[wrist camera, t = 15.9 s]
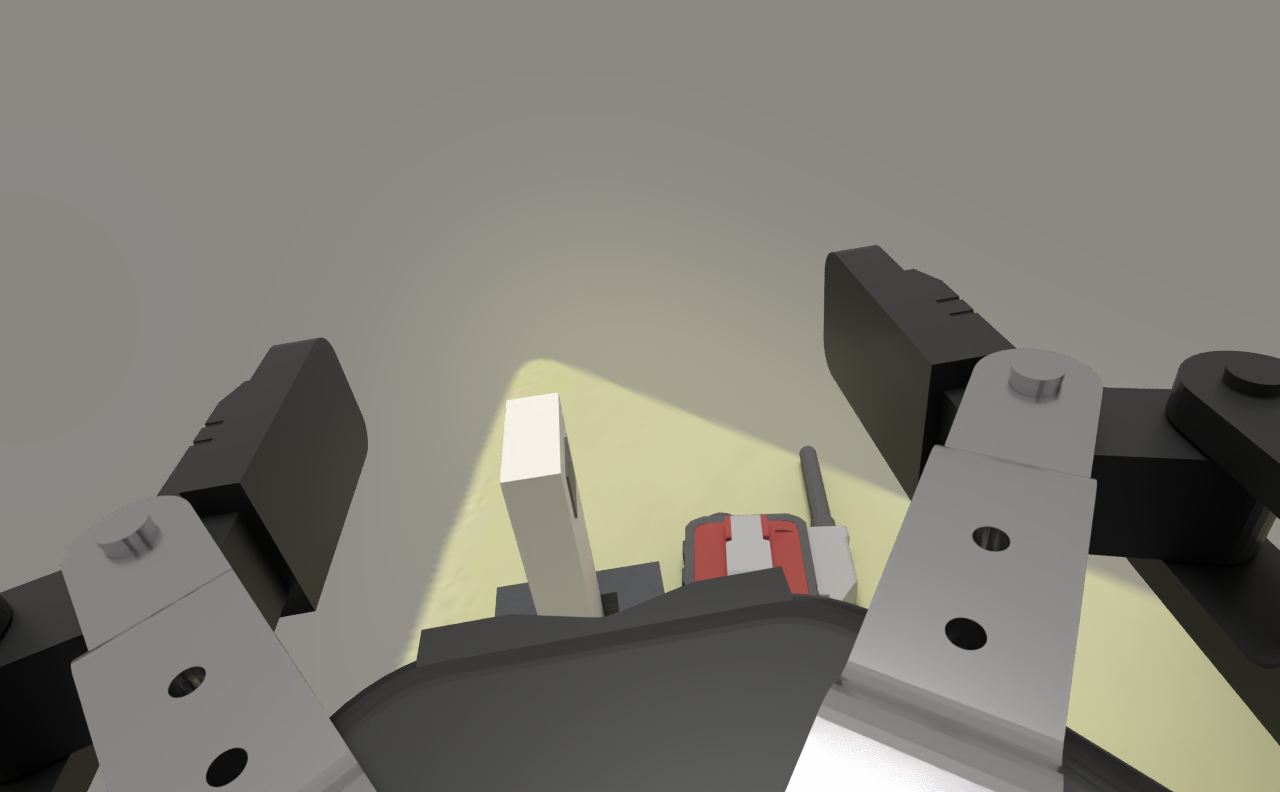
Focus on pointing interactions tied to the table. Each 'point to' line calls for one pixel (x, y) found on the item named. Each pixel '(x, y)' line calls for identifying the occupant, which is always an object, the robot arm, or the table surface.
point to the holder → (614, 586)
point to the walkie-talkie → (776, 544)
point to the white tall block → (547, 509)
